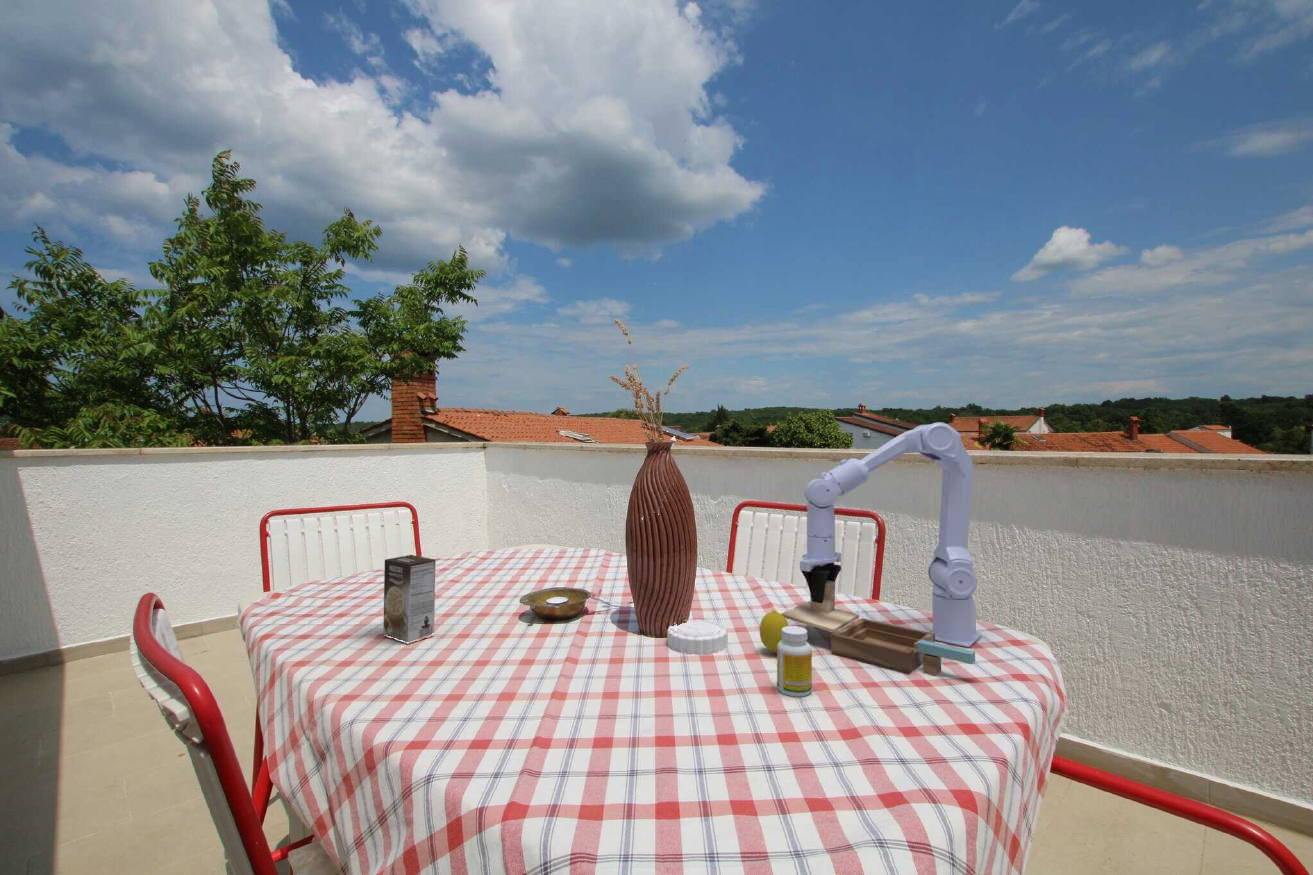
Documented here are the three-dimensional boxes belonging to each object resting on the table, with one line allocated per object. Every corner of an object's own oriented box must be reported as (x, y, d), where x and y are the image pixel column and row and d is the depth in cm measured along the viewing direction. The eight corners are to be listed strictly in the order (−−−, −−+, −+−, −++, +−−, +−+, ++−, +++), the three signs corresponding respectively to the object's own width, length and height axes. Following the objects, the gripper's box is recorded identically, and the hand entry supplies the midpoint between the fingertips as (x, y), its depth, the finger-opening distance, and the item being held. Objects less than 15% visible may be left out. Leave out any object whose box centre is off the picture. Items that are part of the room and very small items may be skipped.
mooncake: (740, 647, 107) (740, 629, 107) (692, 660, 100) (692, 641, 100) (701, 631, 117) (701, 614, 117) (655, 642, 110) (655, 624, 110)
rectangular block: (921, 648, 96) (921, 639, 96) (975, 661, 91) (975, 651, 91) (917, 651, 95) (917, 642, 95) (971, 664, 89) (971, 654, 89)
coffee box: (381, 637, 113) (382, 559, 113) (409, 628, 118) (410, 554, 119) (407, 645, 108) (408, 563, 108) (436, 636, 113) (437, 558, 114)
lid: (808, 603, 120) (808, 574, 120) (858, 617, 112) (859, 586, 112) (780, 616, 112) (781, 584, 112) (833, 632, 104) (834, 598, 104)
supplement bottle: (770, 687, 88) (770, 627, 88) (796, 681, 90) (796, 622, 91) (792, 700, 83) (791, 637, 84) (819, 693, 86) (818, 632, 86)
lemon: (790, 659, 100) (789, 615, 100) (759, 657, 101) (759, 613, 101) (789, 649, 105) (788, 607, 106) (760, 647, 106) (759, 605, 107)
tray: (862, 635, 113) (862, 618, 113) (955, 657, 101) (955, 637, 101) (831, 653, 103) (831, 634, 103) (930, 680, 91) (930, 658, 91)
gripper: (819, 530, 123) (820, 590, 123) (786, 537, 113) (786, 603, 112) (849, 533, 119) (850, 596, 118) (817, 541, 108) (818, 610, 108)
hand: (821, 600), depth 115 cm, fingers closed on lid, 3 cm apart
